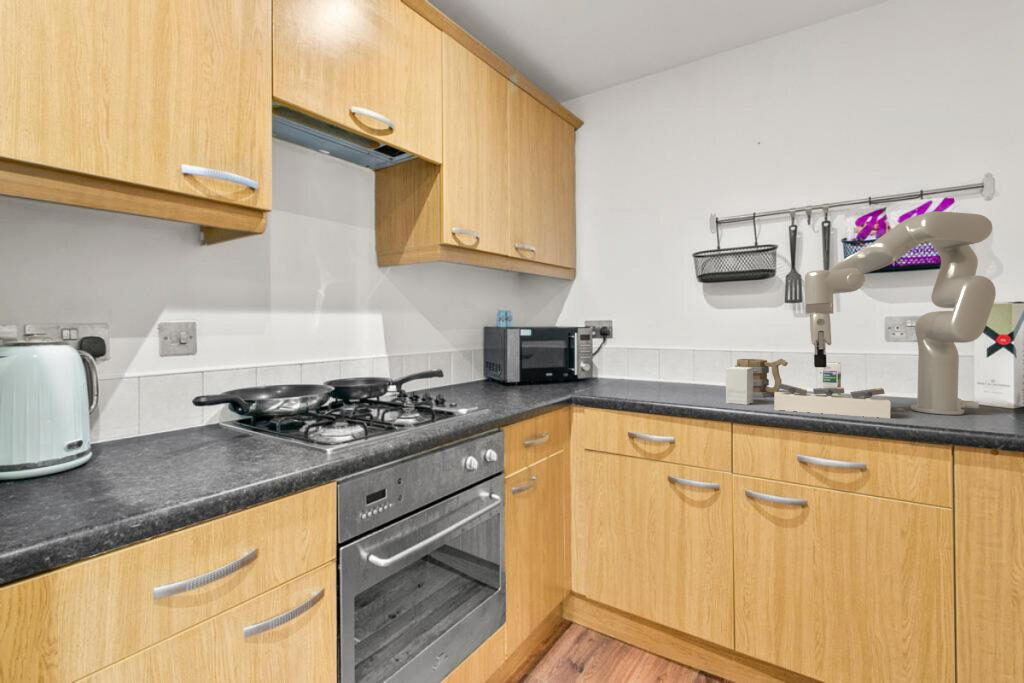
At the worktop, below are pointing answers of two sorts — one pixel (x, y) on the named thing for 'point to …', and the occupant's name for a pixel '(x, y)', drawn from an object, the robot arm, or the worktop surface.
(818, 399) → the power strip
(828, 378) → the syrup box
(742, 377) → the supplement box
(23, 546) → the worktop surface
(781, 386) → the rocker
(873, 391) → the rocker
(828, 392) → the rocker
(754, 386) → the tankard
